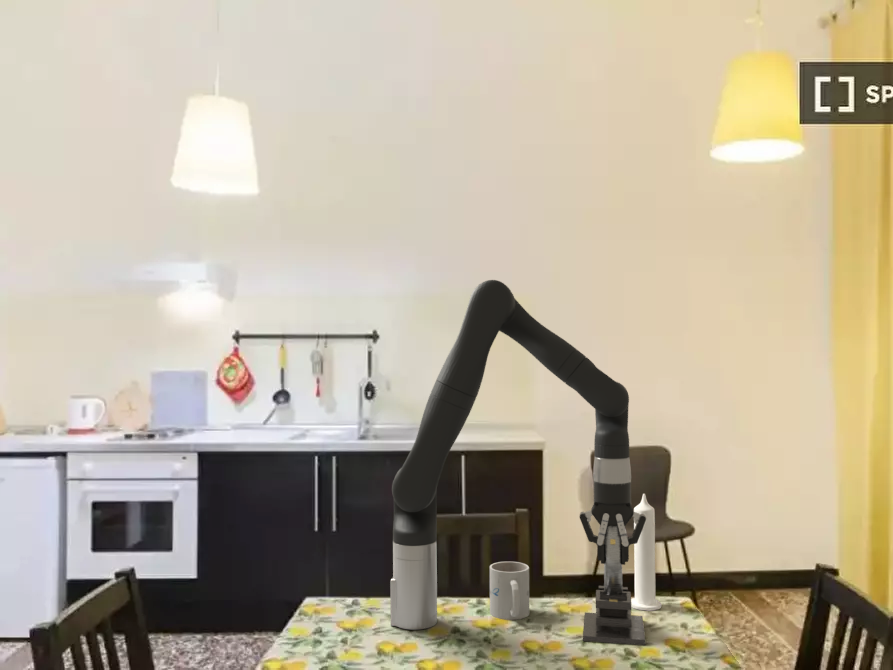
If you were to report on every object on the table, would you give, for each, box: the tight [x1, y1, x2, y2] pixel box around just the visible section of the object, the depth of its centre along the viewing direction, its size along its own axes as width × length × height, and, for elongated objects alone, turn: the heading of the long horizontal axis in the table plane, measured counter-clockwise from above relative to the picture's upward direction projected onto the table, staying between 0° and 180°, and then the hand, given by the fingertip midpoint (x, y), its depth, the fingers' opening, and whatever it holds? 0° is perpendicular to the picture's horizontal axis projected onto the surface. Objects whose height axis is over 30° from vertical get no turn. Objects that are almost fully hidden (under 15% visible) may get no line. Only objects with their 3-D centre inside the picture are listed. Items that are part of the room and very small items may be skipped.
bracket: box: [582, 585, 646, 646], centre depth 162 cm, size 12×14×7 cm
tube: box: [603, 526, 623, 596], centre depth 162 cm, size 4×4×14 cm
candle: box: [631, 493, 662, 612], centre depth 178 cm, size 7×7×25 cm
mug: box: [489, 561, 530, 621], centre depth 172 cm, size 12×9×10 cm
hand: (612, 562), depth 162 cm, fingers closed on tube, 3 cm apart
